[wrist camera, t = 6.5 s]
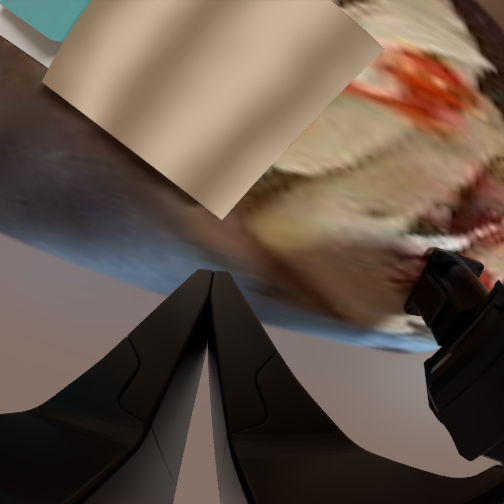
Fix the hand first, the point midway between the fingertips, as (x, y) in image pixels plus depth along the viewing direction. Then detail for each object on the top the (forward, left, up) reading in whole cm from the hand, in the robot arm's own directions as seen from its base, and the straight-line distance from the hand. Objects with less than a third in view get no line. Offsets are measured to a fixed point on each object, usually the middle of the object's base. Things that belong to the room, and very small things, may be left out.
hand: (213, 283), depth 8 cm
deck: (+5, -8, -13) cm, 15 cm away
